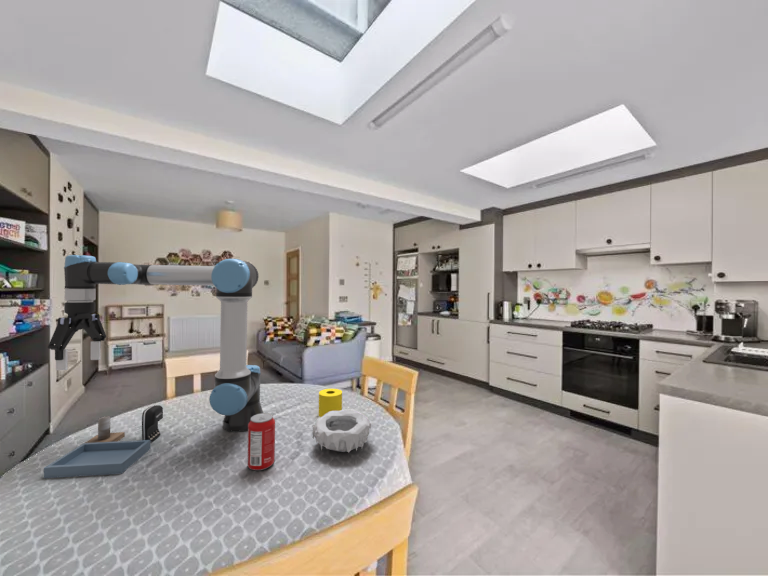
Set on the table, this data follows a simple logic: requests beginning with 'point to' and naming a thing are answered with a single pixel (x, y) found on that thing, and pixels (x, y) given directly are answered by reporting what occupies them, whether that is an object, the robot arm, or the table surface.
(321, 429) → the bowl
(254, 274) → the robot arm
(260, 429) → the soda can
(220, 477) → the table surface
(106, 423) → the wooden base with post
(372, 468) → the table surface
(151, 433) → the battery charger
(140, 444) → the parts tray
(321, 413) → the tape roll
